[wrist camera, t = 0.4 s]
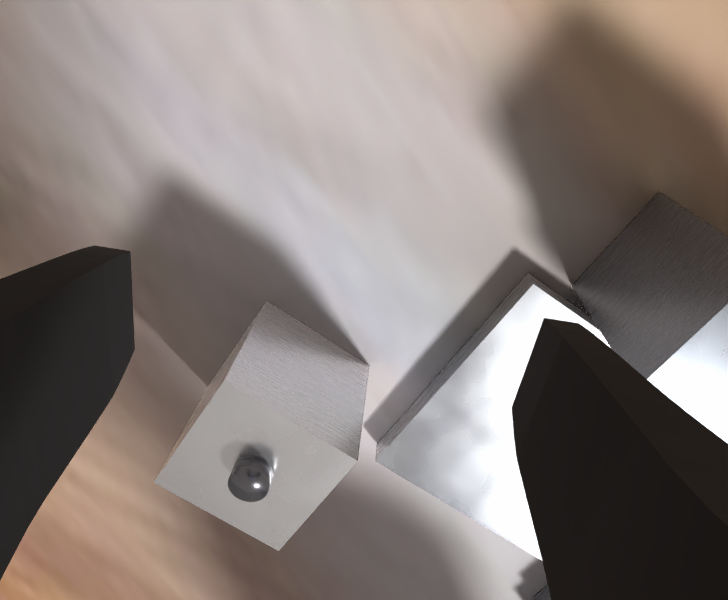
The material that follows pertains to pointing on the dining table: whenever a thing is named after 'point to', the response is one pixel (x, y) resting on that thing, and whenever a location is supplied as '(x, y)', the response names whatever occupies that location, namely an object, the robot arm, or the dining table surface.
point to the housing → (271, 430)
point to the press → (609, 323)
